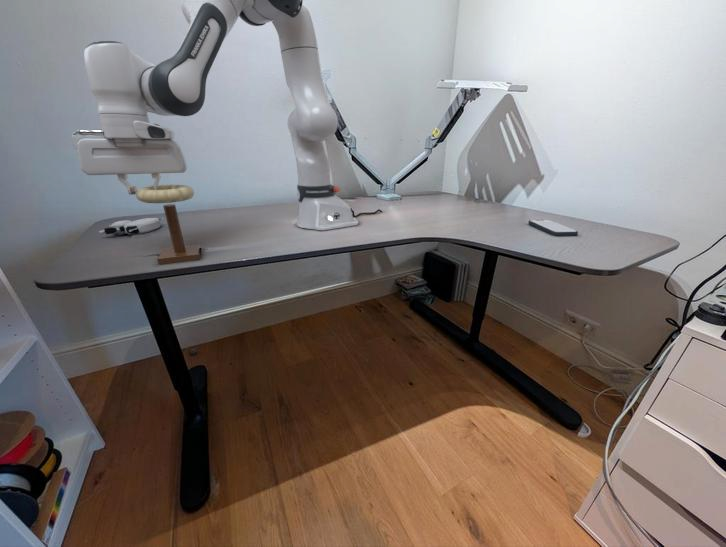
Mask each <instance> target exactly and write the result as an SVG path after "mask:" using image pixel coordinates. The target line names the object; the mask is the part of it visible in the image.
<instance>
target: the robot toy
mask: <svg viewBox="0 0 726 547" xmlns="http://www.w3.org/2000/svg"><path fill="white" fill-rule="evenodd" d="M164 219H165V217H161V218H157V217H148V218H147V217H146V218H141V219H136V220H133V221H132V220H127V219H126V220H119V221H115V222H113V223H112V224H109V225H108V227H105V228H104V229H102V230H99V231H98V233H99V234H100V235H101V234H105V235H112V234H115V235H118V236H123V235H142V234H147V233H150V232H153V231H155V230H157V229H159V228H160V227H161V226H162V225H161V220H164Z"/></svg>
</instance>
